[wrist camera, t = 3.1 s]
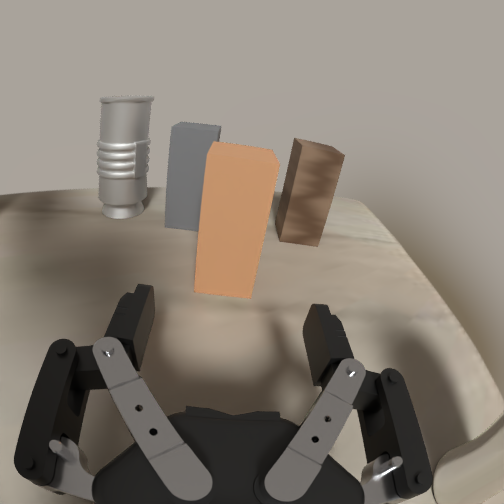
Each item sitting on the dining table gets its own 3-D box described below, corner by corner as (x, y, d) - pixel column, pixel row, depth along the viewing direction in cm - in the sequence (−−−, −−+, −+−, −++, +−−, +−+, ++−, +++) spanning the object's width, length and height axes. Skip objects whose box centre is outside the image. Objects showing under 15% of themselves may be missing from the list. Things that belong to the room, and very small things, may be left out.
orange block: (194, 292, 25) (207, 153, 18) (200, 260, 29) (213, 141, 23) (250, 298, 25) (279, 164, 19) (248, 266, 29) (272, 149, 23)
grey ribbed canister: (119, 226, 32) (122, 98, 24) (89, 210, 34) (89, 98, 26) (158, 208, 37) (166, 97, 29) (126, 195, 39) (130, 95, 32)
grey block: (164, 227, 33) (171, 126, 27) (173, 210, 37) (180, 121, 31) (205, 232, 34) (218, 131, 28) (209, 214, 38) (221, 126, 32)
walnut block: (279, 241, 35) (302, 145, 29) (275, 223, 39) (294, 137, 33) (317, 246, 36) (344, 155, 29) (309, 228, 40) (331, 146, 34)
